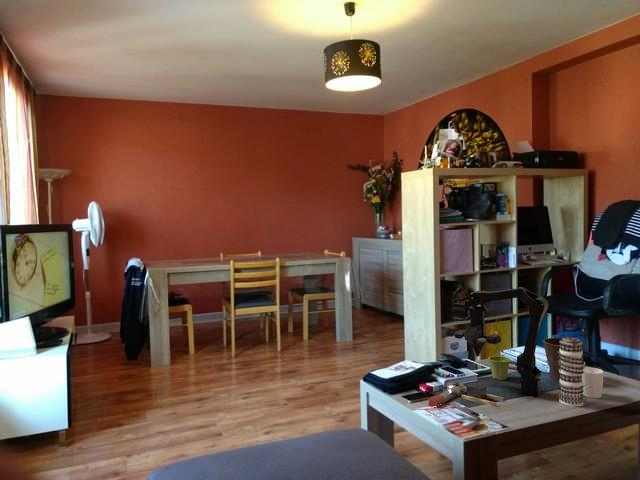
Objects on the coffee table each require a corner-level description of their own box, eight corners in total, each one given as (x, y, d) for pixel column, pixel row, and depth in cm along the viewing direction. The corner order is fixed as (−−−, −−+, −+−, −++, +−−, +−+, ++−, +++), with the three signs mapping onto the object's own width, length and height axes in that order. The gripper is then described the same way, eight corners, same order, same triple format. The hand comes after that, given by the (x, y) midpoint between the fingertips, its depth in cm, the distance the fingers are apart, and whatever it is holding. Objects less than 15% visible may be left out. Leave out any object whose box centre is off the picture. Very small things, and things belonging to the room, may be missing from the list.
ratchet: (483, 396, 203) (483, 386, 203) (457, 413, 187) (457, 402, 187) (452, 388, 213) (452, 379, 212) (424, 404, 196) (424, 393, 196)
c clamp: (543, 368, 237) (543, 363, 237) (527, 378, 225) (527, 371, 225) (502, 360, 252) (502, 355, 251) (485, 369, 240) (485, 363, 239)
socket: (486, 398, 201) (486, 385, 201) (480, 401, 198) (480, 389, 197) (472, 394, 205) (472, 382, 205) (466, 398, 202) (466, 386, 201)
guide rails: (503, 400, 198) (503, 397, 198) (495, 406, 192) (495, 403, 192) (470, 392, 207) (470, 389, 207) (461, 398, 202) (461, 395, 202)
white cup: (602, 393, 203) (602, 368, 202) (604, 399, 196) (604, 374, 195) (580, 390, 206) (580, 366, 206) (581, 397, 199) (581, 372, 198)
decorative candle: (554, 397, 199) (553, 335, 198) (578, 398, 198) (578, 335, 197) (562, 406, 190) (562, 341, 189) (588, 406, 189) (588, 341, 188)
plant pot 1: (486, 374, 230) (486, 355, 229) (508, 374, 229) (508, 355, 228) (490, 381, 221) (490, 361, 220) (513, 381, 219) (513, 361, 219)
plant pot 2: (552, 370, 233) (552, 335, 232) (586, 377, 222) (586, 341, 221) (537, 377, 223) (537, 342, 222) (573, 385, 212) (572, 348, 211)
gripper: (448, 321, 217) (448, 356, 218) (489, 326, 204) (490, 364, 205) (460, 316, 225) (461, 351, 226) (501, 322, 212) (501, 358, 213)
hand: (477, 356), depth 217 cm, fingers closed
